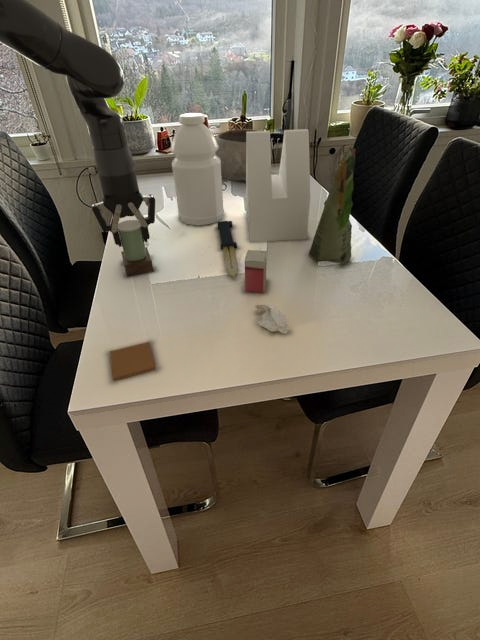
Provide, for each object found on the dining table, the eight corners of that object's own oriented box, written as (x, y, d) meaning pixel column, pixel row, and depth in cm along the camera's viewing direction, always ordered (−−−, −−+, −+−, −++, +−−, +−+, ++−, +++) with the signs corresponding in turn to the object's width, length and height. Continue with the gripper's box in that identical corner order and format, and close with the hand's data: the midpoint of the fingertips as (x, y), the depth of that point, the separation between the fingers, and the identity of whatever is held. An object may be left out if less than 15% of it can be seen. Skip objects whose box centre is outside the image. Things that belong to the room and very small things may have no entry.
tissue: (280, 308, 77) (280, 293, 74) (289, 333, 70) (290, 317, 68) (253, 311, 76) (253, 296, 74) (260, 337, 70) (260, 321, 68)
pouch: (338, 243, 98) (352, 141, 83) (364, 264, 90) (385, 154, 74) (299, 251, 96) (307, 147, 80) (322, 273, 87) (336, 161, 71)
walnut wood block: (127, 276, 89) (124, 265, 87) (123, 262, 94) (121, 251, 92) (153, 271, 90) (151, 260, 88) (149, 257, 96) (146, 246, 94)
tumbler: (125, 263, 88) (117, 231, 83) (123, 252, 92) (115, 222, 87) (149, 258, 89) (143, 227, 84) (145, 248, 93) (139, 218, 88)
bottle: (233, 215, 115) (228, 113, 98) (200, 230, 108) (189, 122, 90) (202, 204, 123) (193, 108, 106) (169, 218, 115) (153, 116, 98)
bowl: (219, 189, 135) (216, 144, 125) (207, 171, 152) (204, 130, 143) (280, 181, 139) (281, 137, 130) (261, 164, 156) (261, 125, 147)
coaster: (113, 380, 62) (113, 378, 62) (110, 353, 68) (109, 351, 67) (155, 369, 64) (154, 366, 64) (149, 344, 69) (148, 341, 69)
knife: (231, 220, 109) (243, 273, 85) (232, 225, 110) (243, 279, 86) (217, 221, 108) (225, 274, 85) (217, 226, 109) (225, 280, 86)
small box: (248, 280, 86) (247, 249, 81) (266, 281, 85) (267, 250, 80) (244, 292, 82) (243, 260, 77) (264, 293, 81) (264, 261, 76)
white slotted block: (246, 213, 116) (244, 124, 101) (296, 211, 116) (301, 122, 101) (250, 241, 101) (248, 141, 86) (306, 239, 101) (315, 138, 86)
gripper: (147, 160, 82) (160, 231, 93) (79, 168, 79) (100, 242, 89) (153, 169, 77) (166, 244, 87) (80, 179, 73) (102, 255, 84)
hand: (132, 242), depth 88 cm, fingers closed on tumbler, 5 cm apart
